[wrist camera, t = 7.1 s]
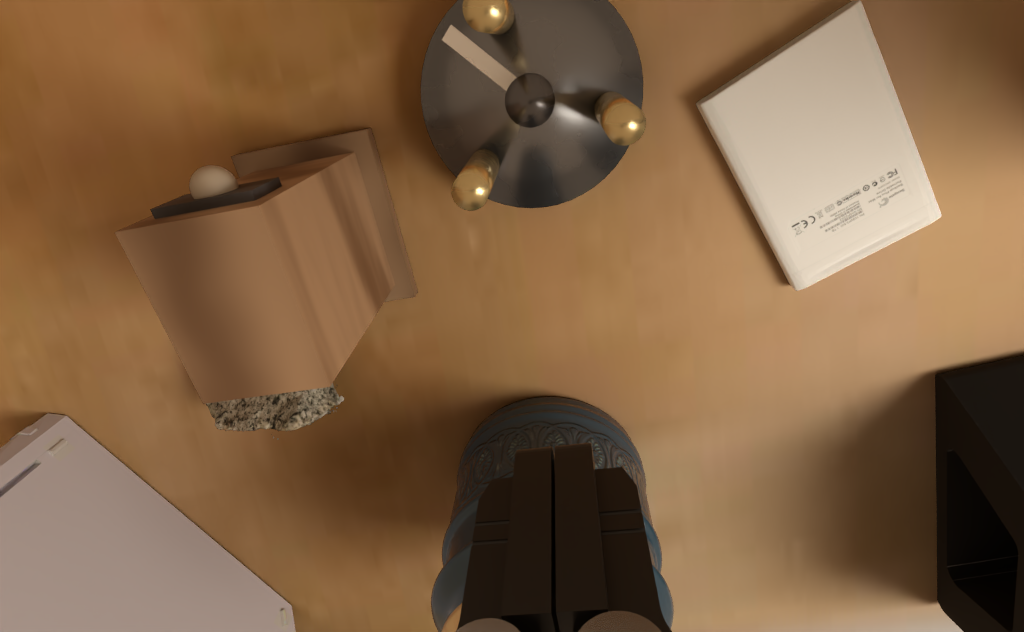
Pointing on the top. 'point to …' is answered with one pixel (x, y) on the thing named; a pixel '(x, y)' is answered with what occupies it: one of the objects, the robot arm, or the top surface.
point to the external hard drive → (822, 149)
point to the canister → (495, 459)
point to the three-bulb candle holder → (531, 98)
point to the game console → (111, 548)
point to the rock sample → (275, 410)
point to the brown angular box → (273, 265)
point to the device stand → (981, 495)
